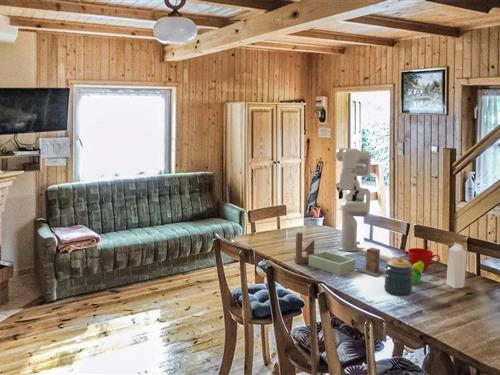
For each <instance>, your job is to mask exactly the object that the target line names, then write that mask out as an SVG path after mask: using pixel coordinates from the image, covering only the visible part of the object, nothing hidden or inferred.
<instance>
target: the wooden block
mask: <svg viewBox="0 0 500 375" xmlns="http://www.w3.org/2000/svg"><path fill="white" fill-rule="evenodd" d="M295 234H296V236H295V256H294V263H295V264H296V265H299V264H308V262H309V255H311V254H315V238H313V237H312V238H311V239H310V240H308V241H307V243H306V244H305V245H304V246H303V232H300V231H299V232H296V233H295ZM305 252H306V255H303V253H305Z"/></svg>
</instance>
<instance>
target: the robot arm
mask: <svg viewBox="0 0 500 375" xmlns="http://www.w3.org/2000/svg"><path fill="white" fill-rule="evenodd" d="M335 158H336V161H338V162H342V163H341V164H342V165H341V166H342V168H341V174H340V177H339V182H338V183H335V188H336V190H337V192H338V200H342V199H344V198H345V201H343V202H342V203H341V206H340V208H341V237H340V238H341V240H340V241H341V243H340V244H341V245H339V246H338V249H339V251H343V252H348V253H350V252H351V253H352V252H357V251H359V250H360V248H359V247H358V245H360V244H361V242H360V241H357V240H358V239H357V237H358V234H357V233H358V222H357V220H356V218H355V217H359V218H360V217H368V216H369V214H370V210H371V209H370V208H371V207H370V206H371V191H370V189H368V188H362V187H361V186H360V185H361V184H360V181H359V180H358V177H368V176H370V174H371V170H372V169H371V168H372V167H371V166H372V165H371V164H372V163H371V162H372V160H371V154H370V152H369V151H368V150H360V149H358V148H351V147H350V148H347V147H343V148H342V147H338V148H337V150H336V151H335ZM344 191H345V194H344ZM344 195H345V196H344Z"/></svg>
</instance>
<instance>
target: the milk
mask: <svg viewBox="0 0 500 375" xmlns="http://www.w3.org/2000/svg"><path fill="white" fill-rule="evenodd" d="M467 255H468V251H467V250H466V249H465V248H463V245H462V244H460V243H458V242H454V243H453V245H452V246H451V247H449V248H448V255H447V256H448V259H447V269H446V270H447V271H446V283H445V285H446V286H448V285H449V286H448V287H450V286H451V287H450V288H452V287H453V288H452V289H463V287H464V288H465V280H466V268H467Z"/></svg>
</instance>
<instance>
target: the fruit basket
mask: <svg viewBox="0 0 500 375" xmlns="http://www.w3.org/2000/svg"><path fill="white" fill-rule="evenodd" d="M411 267H412V268H413V272H412V275H413V278H412V285H419V283H420V281H421V278H422V276H423V275H422V273H423V271H424V270H423V267H424V264H423V262H422V261H418V263H415V264H413V266H411Z"/></svg>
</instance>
